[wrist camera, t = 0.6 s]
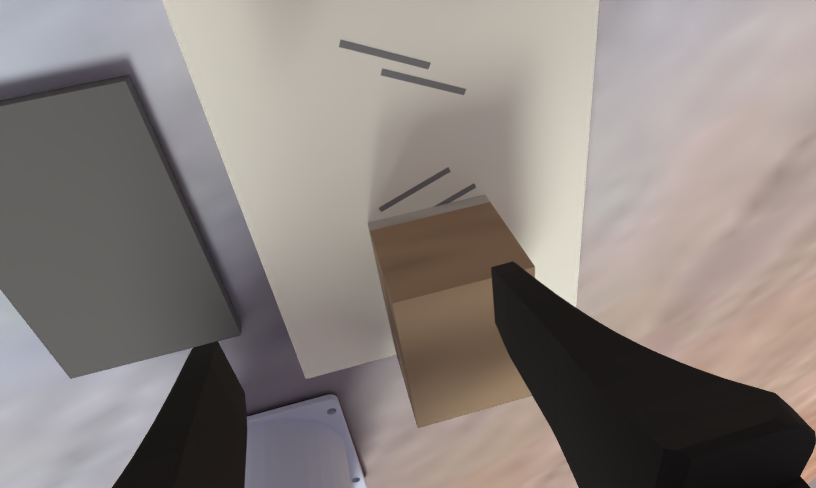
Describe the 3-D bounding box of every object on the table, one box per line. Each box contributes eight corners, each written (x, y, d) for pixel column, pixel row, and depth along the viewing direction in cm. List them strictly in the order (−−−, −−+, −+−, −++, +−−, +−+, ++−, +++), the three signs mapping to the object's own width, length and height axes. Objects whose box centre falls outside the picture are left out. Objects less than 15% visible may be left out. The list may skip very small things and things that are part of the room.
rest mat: (241, 326, 25) (241, 334, 25) (74, 368, 24) (70, 378, 24) (128, 75, 18) (125, 81, 18) (-114, 123, 17) (-124, 131, 17)
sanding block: (491, 315, 26) (533, 395, 22) (392, 341, 26) (417, 428, 22) (485, 194, 22) (535, 266, 18) (367, 222, 22) (392, 303, 18)
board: (562, 288, 29) (576, 307, 28) (303, 356, 27) (305, 379, 26) (584, -113, 18) (608, -111, 17) (158, -36, 16) (151, -27, 15)
